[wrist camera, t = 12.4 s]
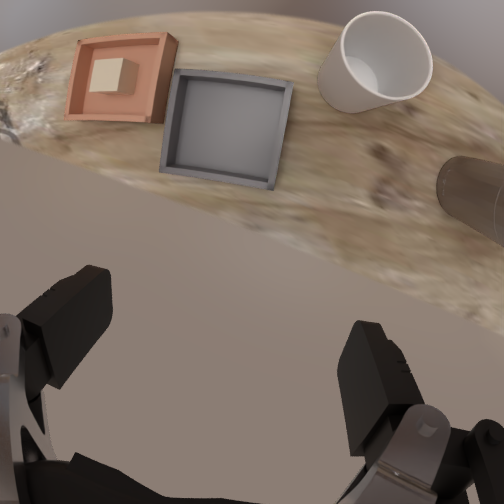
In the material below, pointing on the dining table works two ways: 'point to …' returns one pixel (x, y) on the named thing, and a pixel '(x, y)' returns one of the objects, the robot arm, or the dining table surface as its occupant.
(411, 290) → the dining table surface
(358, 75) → the cup
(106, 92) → the block
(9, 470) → the robot arm
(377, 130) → the dining table surface
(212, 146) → the bin
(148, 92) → the bin
